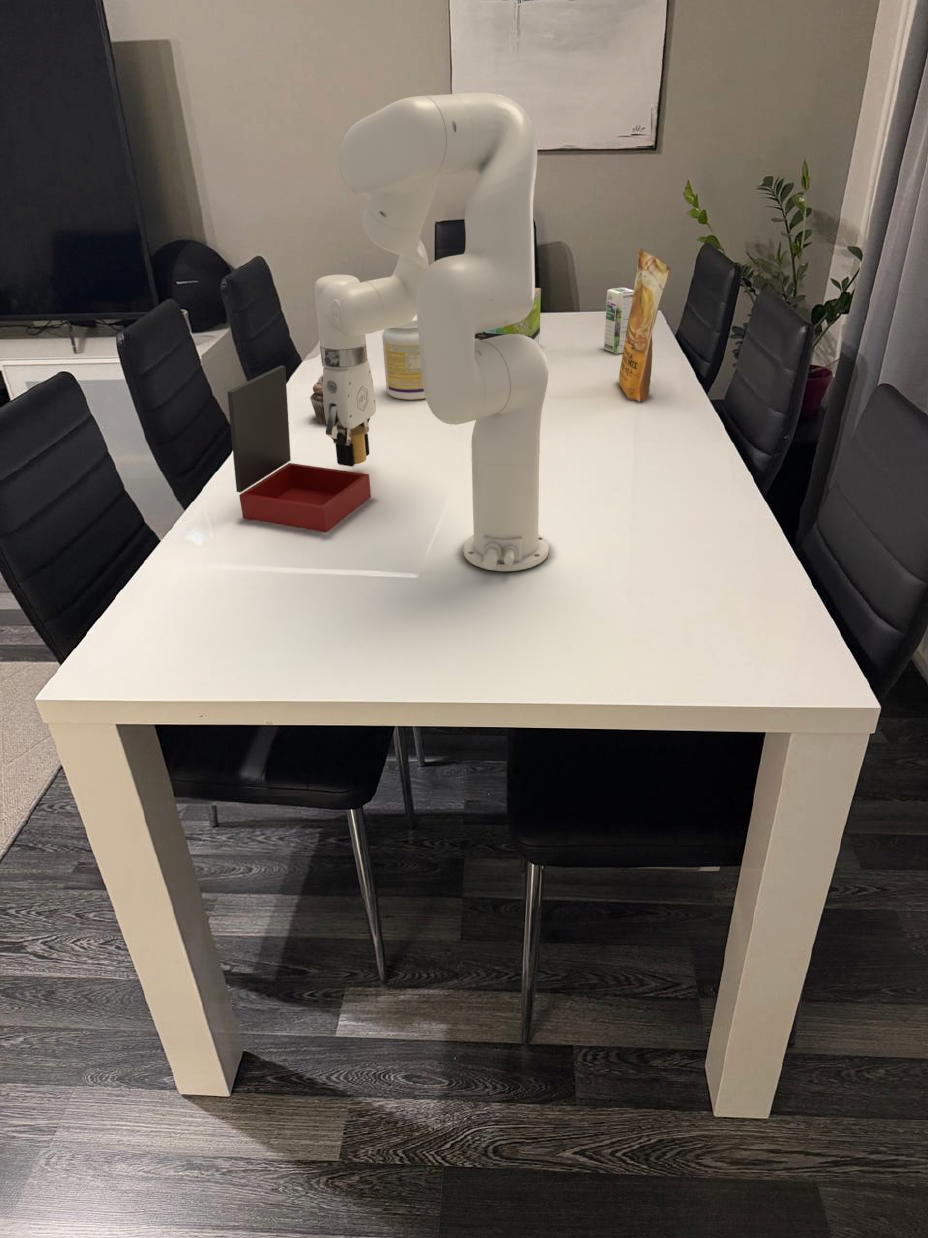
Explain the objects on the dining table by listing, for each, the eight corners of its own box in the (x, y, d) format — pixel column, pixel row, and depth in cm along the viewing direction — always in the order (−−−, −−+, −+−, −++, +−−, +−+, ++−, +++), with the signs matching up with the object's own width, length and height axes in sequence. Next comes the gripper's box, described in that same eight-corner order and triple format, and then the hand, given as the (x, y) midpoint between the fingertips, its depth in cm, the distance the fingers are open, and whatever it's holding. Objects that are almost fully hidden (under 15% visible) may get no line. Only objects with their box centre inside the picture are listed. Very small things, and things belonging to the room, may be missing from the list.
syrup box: (602, 349, 231) (605, 289, 223) (622, 345, 233) (626, 286, 226) (615, 354, 226) (618, 293, 219) (635, 351, 229) (639, 290, 221)
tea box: (473, 353, 231) (471, 292, 223) (484, 343, 239) (483, 284, 231) (531, 357, 227) (532, 294, 219) (540, 346, 235) (541, 286, 227)
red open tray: (371, 500, 154) (369, 474, 152) (326, 536, 143) (323, 508, 141) (292, 488, 160) (289, 462, 158) (243, 522, 149) (238, 494, 146)
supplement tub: (449, 396, 202) (446, 317, 193) (396, 404, 198) (390, 324, 189) (430, 381, 212) (426, 306, 203) (379, 389, 208) (373, 312, 199)
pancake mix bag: (643, 377, 210) (653, 246, 195) (661, 403, 193) (673, 263, 179) (614, 378, 209) (621, 247, 195) (629, 405, 193) (638, 264, 179)
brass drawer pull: (365, 466, 158) (362, 436, 155) (334, 465, 159) (330, 435, 156) (373, 454, 163) (370, 424, 160) (342, 453, 164) (339, 424, 161)
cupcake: (336, 407, 197) (331, 361, 192) (368, 416, 192) (364, 368, 187) (303, 420, 191) (297, 372, 186) (335, 429, 186) (330, 380, 181)
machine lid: (285, 365, 148) (281, 365, 148) (231, 392, 137) (227, 391, 137) (290, 460, 157) (286, 459, 157) (240, 492, 146) (236, 491, 146)
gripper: (338, 371, 144) (348, 480, 153) (388, 344, 157) (394, 445, 166) (297, 367, 146) (309, 474, 156) (349, 340, 159) (358, 440, 169)
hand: (353, 458), depth 161 cm, fingers closed on brass drawer pull, 4 cm apart
